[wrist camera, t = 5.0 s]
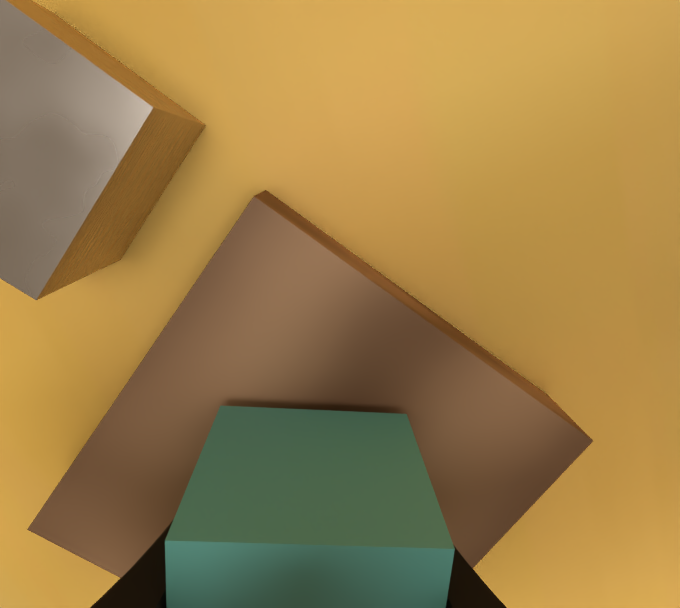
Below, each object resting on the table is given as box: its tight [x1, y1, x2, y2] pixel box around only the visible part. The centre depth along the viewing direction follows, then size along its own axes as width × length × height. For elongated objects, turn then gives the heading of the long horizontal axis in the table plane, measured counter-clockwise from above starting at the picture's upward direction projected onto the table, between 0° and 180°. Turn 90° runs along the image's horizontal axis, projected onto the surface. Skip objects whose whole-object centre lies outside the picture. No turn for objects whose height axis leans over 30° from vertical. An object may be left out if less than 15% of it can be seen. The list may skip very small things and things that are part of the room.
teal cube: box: [165, 406, 455, 608], centre depth 12 cm, size 5×5×5 cm
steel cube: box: [0, 0, 206, 300], centre depth 13 cm, size 5×5×5 cm
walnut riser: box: [27, 191, 593, 578], centre depth 16 cm, size 12×12×3 cm
